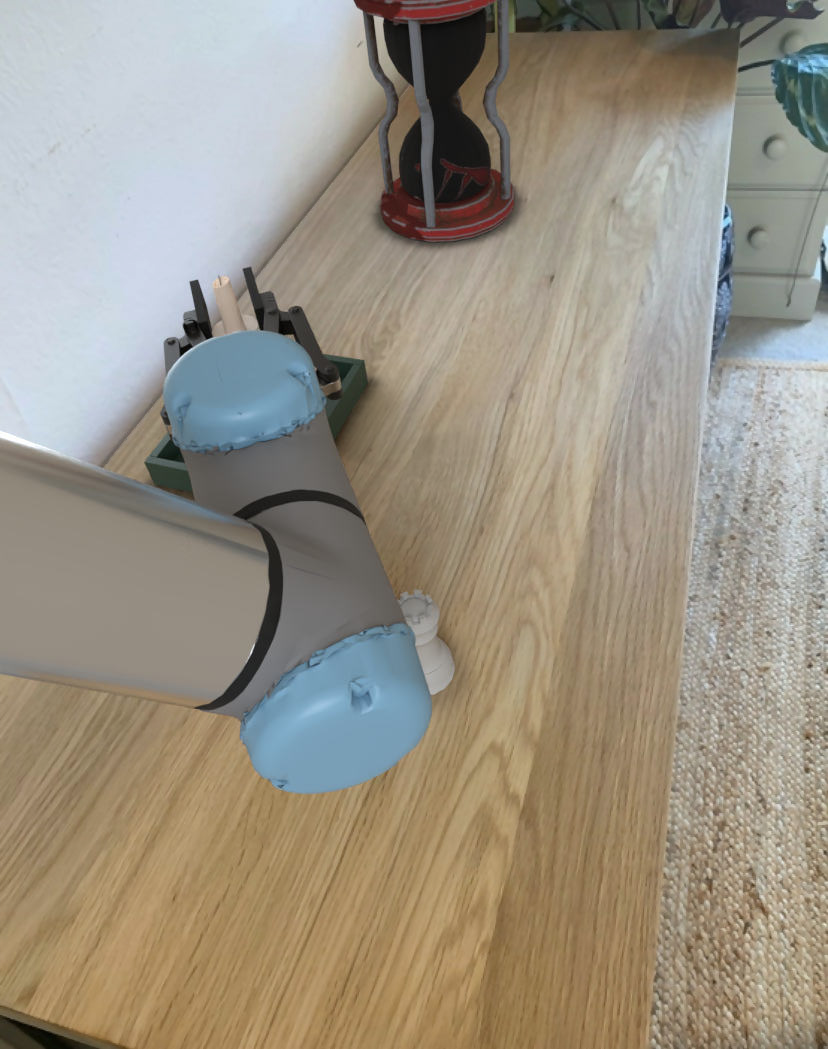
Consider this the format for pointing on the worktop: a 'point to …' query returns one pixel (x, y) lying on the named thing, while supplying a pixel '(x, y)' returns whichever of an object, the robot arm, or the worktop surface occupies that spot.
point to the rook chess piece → (428, 639)
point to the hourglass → (441, 118)
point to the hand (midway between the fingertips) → (224, 288)
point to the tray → (171, 466)
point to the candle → (229, 310)
